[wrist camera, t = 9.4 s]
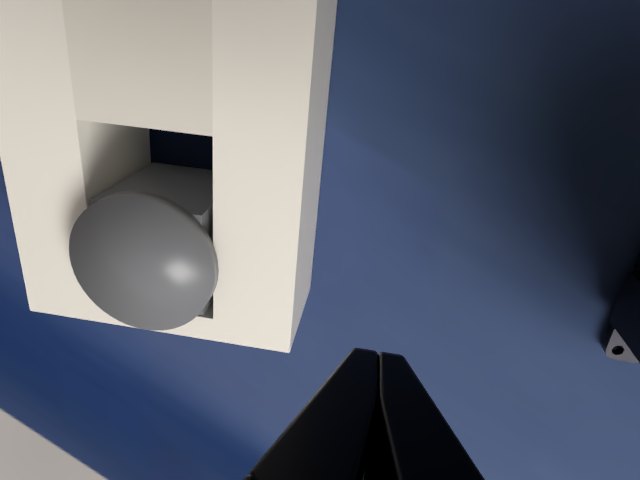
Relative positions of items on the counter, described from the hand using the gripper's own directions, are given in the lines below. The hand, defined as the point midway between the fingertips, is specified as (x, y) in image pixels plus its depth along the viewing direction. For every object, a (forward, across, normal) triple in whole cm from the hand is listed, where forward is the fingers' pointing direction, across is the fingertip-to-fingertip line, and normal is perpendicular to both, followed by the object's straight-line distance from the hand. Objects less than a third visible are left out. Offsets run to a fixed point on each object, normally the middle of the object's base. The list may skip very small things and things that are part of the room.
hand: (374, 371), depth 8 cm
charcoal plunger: (+13, +8, +3) cm, 15 cm away
